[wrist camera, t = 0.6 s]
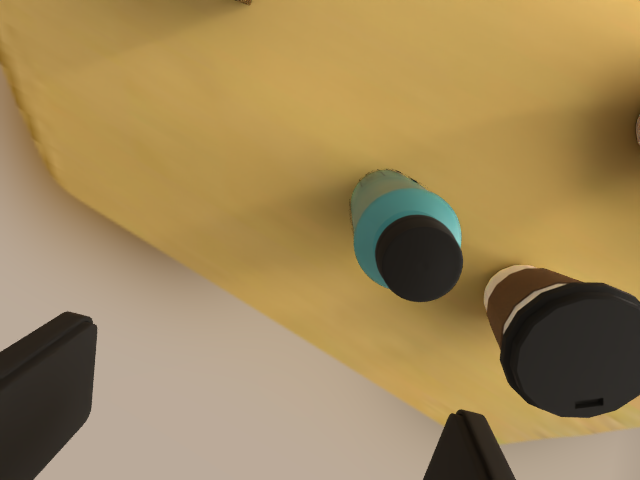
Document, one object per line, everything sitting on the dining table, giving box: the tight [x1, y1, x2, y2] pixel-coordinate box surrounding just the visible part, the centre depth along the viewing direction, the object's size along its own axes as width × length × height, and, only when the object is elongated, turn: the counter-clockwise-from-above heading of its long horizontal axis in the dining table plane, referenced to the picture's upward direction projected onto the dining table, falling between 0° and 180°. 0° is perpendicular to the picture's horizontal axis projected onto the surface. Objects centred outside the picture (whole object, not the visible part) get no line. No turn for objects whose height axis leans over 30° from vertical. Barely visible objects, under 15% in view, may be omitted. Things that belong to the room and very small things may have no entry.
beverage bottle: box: [349, 169, 463, 302], centre depth 27 cm, size 6×7×20 cm
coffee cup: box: [484, 265, 640, 418], centre depth 32 cm, size 11×11×12 cm
